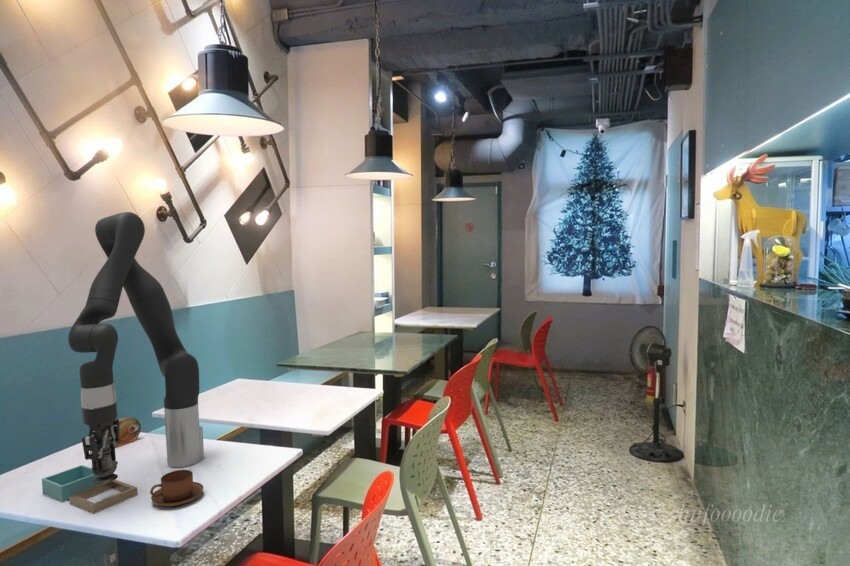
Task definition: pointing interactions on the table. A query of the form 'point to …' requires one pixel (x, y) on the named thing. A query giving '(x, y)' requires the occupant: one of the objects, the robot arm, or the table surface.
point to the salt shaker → (106, 466)
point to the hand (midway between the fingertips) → (104, 467)
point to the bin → (68, 482)
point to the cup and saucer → (176, 489)
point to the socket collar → (91, 507)
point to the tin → (128, 431)
